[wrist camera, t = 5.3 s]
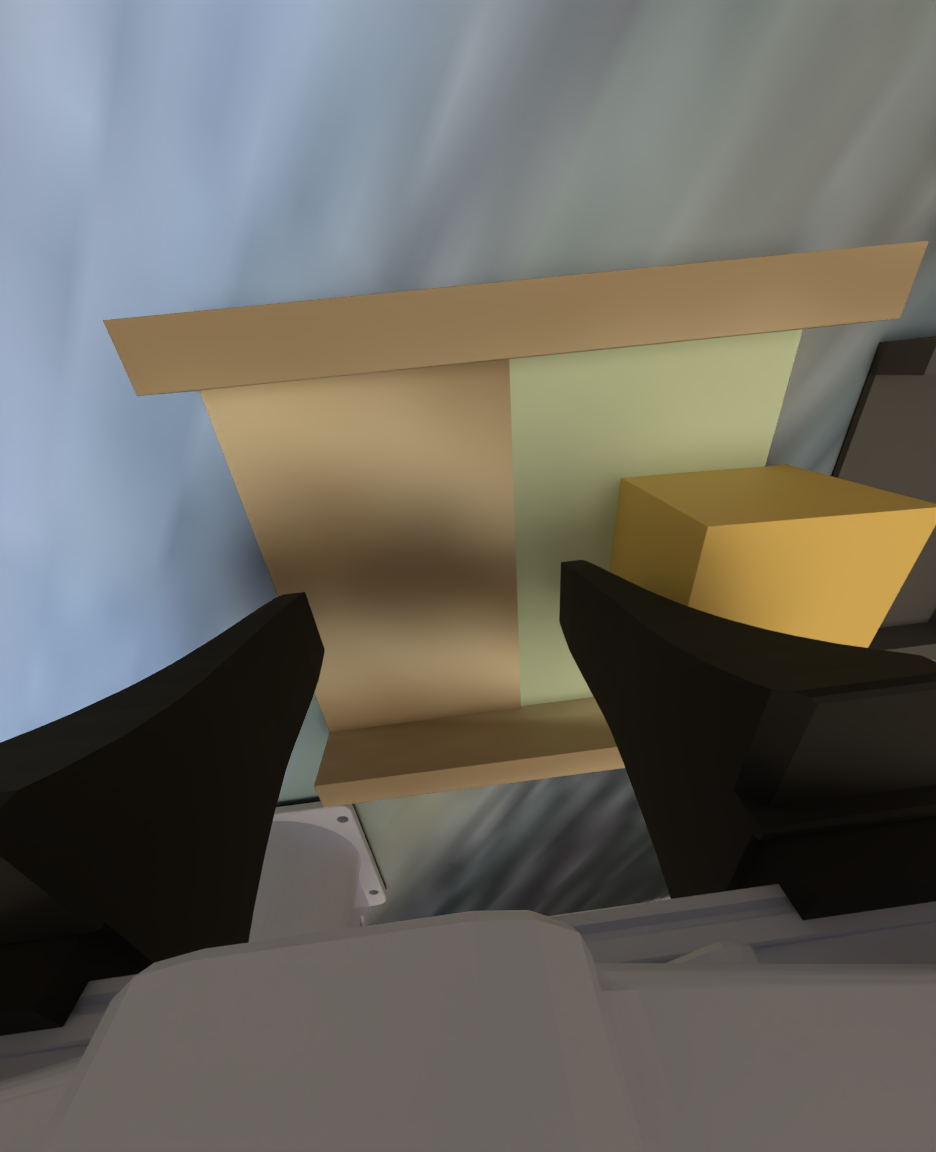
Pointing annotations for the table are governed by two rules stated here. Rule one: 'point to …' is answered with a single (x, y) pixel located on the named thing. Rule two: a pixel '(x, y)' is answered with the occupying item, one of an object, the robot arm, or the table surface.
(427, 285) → the table surface
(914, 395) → the pit tray
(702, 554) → the block
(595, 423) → the pad
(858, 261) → the channel
